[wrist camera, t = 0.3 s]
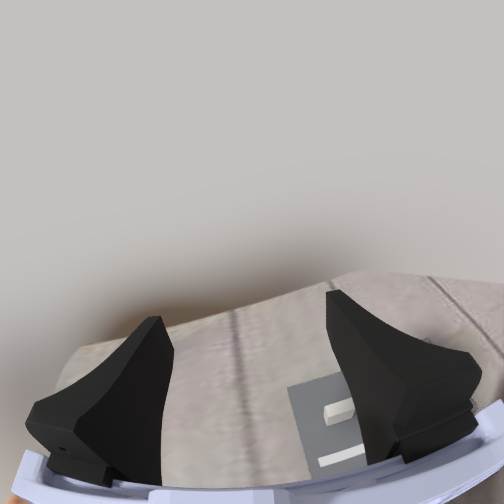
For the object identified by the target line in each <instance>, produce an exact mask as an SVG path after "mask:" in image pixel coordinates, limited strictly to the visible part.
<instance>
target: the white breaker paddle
mask: <svg viewBox="0 0 504 504" xmlns="http://www.w3.org/2000/svg"><path fill="white" fill-rule="evenodd" d="M354 412H355V407H354V403H353V400H352V397H351V398H348V399H345V400H342V401H339V402H336V403H333V404H330V405H327V406H325V407H324V419H325V422H326V425H327V426H330V425H333V424H336V423H339V422H342V421H345V420H348V419H351V418H352V417H353V414H354Z"/></svg>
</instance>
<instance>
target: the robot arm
mask: <svg viewBox="0 0 504 504" xmlns="http://www.w3.org/2000/svg"><path fill="white" fill-rule="evenodd" d="M326 329H327V333H328V337H329V340H330V343H331V347H332V350H333V352H334V354H335V357H336V359H337V361H338V364H339V366H340V368H341V371H342V373H343V375H344V378H345V380H346V382H347V385H348V387H349V390H350V393H351V396H352V399H353V403H354V407H355V410H356V414H357V418H358V422H359V426H360V430H361V435H362V440H363V444H364V449H365V455H366V460H367V466H366V467H362V468H359V469H355V470H352V471H348V472H344V473H340V474H335V475H331V476H326V477H321V478H316V479H311V480H305V481H299V482H293V483H286V484H278V485H269V486H259V487H245V488H217V489H207V488H179V487H165V486H162V477H161V430H162V417H163V411H164V405H165V401H166V396H167V392H168V387H169V383H170V379H171V374H172V369H173V360H174V348H173V345H172V343H171V341H170V338H169V336H168V333H167V331H166V328H165V326H164V323H163V321H162V318H161V316H153V317H148V318H146V319H145V320H144V321H143V322H142V323H141V324H140V325H139V326H138V327H137V329H136V330H135V331H134V332H133V333H132V334H131V335H130V336H129V337H128V338H127V339H126V340H125V341H124V342H123V343H122V344H121V345H120V346H119V347H118V348H117V349H116V350H115V351H114V352H113V353H112V354H111V355H110V356H109V357H108V358H107V359H106V360H105V361H104V362H102V363H101V364H100V365H99V366H98V367H96V368H95V369H94V370H93V371H91V372H90V373H89V374H87V375H86V376H84V377H83V378H81V379H80V380H78V381H77V382H75V383H74V384H72V385H70V386H69V387H67V388H65V389H63V390H62V391H60V392H58V393H56V394H54V395H51V396H49V397H47V398H44V399H42V400H40V401H37V402H35V403H34V406H33V407H32V409H31V412H30V414H29V416H28V418H27V420H26V422H25V425H26V428H27V430H28V431H29V433H30V434H31V435H32V436H33V437H34V438H35V439H36V440H37V441H38V442H39V443H40V444H42V445H43V446H44V447H45V448H46V449H47V450H48V451H49V452H51V454H50V457H49V458H48V457H46V456H45V455H43V454H40V453H37V452H34V451H31V450H28V449H26V451H25V454H24V456H23V459H22V461H21V464H20V466H19V469H18V472H17V475H16V477H15V480H14V483H13V486H12V489H11V490H12V492H13V493H15V494H16V495H18V496H19V497H21V498H23V499H24V500H26V501H27V502H29V503H31V504H444V503H446V502H448V501H450V500H452V499H453V498H455V497H457V496H459V495H460V494H462V493H464V492H466V491H467V490H469V489H471V488H472V487H474V486H475V485H477V484H478V483H480V482H482V481H483V480H485V479H486V478H488V477H489V476H491V475H492V474H494V473H495V472H496V471H498V470H499V469H500V468H501V467H502V466H503V465H504V403H503V401H502V400H501V399H498V400H496V401H495V402H493V403H492V404H490V405H488V406H487V407H485V408H483V409H482V410H480V411H479V412H478V413H476V414H475V415H473V413H472V411H471V410H472V408H473V404H472V402H471V401H470V398H471V396H472V395H473V393H474V391H475V390H476V388H477V386H478V384H479V382H480V380H481V376H482V370H481V368H480V367H479V365H478V364H477V363H476V361H475V360H474V359H473V357H472V356H471V355H470V354H469V353H468V352H463V351H458V350H453V349H448V348H444V347H440V346H437V345H433V344H430V343H427V342H424V341H422V340H419V339H417V338H414V337H412V336H410V335H407V334H405V333H403V332H401V331H399V330H397V329H395V328H393V327H392V326H390V325H388V324H386V323H385V322H383V321H382V320H380V319H378V318H377V317H375V316H374V315H372V314H371V313H370V312H368V311H367V310H365V309H364V308H363V307H361V306H360V305H359V304H357V303H356V302H355V301H354V300H352V299H351V298H350V297H349V296H347V295H346V294H345V293H344V292H342V291H341V290H340V289H339V290H334V291H329V292H326Z"/></svg>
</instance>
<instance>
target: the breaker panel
mask: <svg viewBox="0 0 504 504" xmlns="http://www.w3.org/2000/svg"><path fill="white" fill-rule="evenodd" d="M422 341H424V342H427V343H430V344H431V342H430V341H429V340H428V339H427V338H425V339H423V340H422ZM287 390H288V395H289V398H290V402H291V406H292V409H293V413H294V417H295V420H296V424H297V427H298V431H299V435H300V438H301V442H302V446H303V449H304V453H305V456H306V460H307V464H308V467H309V471H310V475H311V478H312V479H316V478H321V477H326V476H331V475H335V474H340V473H344V472H348V471H352V470H355V469H359V468H362V467H366V466H367V460H366V455H365V449H364V444H363V440H362V435H361V430H360V426H359V422H358V418H357V414H356V410H355V412H354V414H353V417H352V418H351V419H348V420H345V421H342V422H339V423H336V424H333V425H330V426H327V425H326V422H325V419H324V407H325V406H327V405H330V404H333V403H336V402H339V401H342V400H345V399H348V398H351V397H352V396H351V393H350V390H349V387H348V385H347V382H346V380H345V378H344V375H343V373H342V371H341V372H338V373H335V374H332V375H328V376H325V377H322V378H319V379H315V380H312V381H308V382H305V383H301V384H298V385H294V386H290V387H287ZM352 400H353V399H352ZM470 401H471V402H472V404H473V408H472V410H471V411H472V413H473V414H474V412H475V411H476V410H477V406H476V405H475V403H474V402H473V400H472V399H471V398H470Z"/></svg>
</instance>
